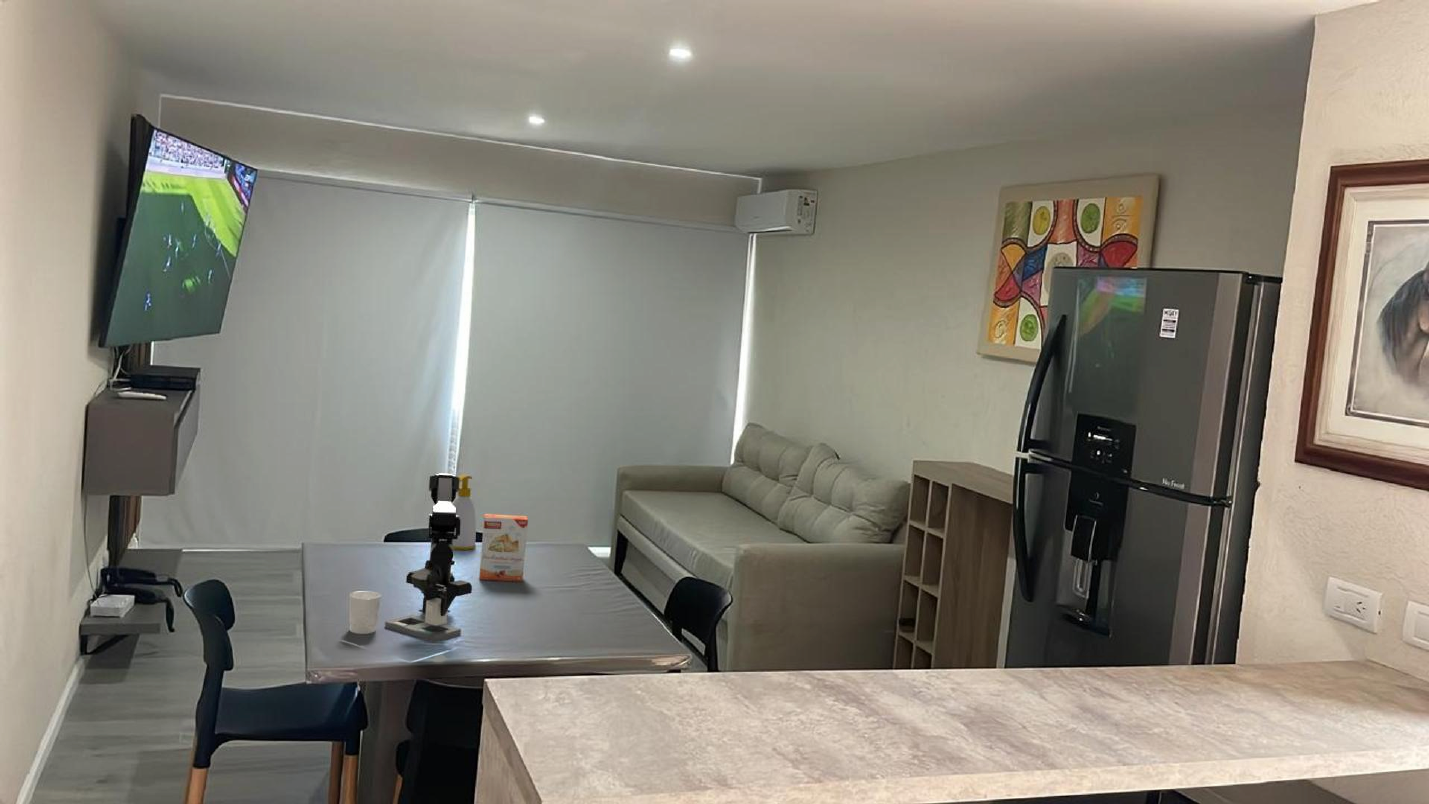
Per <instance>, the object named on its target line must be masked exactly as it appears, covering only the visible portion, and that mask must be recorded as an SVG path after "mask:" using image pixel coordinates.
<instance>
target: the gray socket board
mask: <svg viewBox="0 0 1429 804" xmlns="http://www.w3.org/2000/svg"><path fill="white" fill-rule="evenodd" d="M384 628H386V629H388V630H389V629H390V630H392V631H394V632H395V631H396V632H400V633H403V634H404V635H405V634H406V635H409V636H412V637H416V638H418V639H422V640H426V641H429V642H432V643H436V642H440V641H444V640H446V639H450V638H454V637H457V636H460V635H461V634H462V633H461V632H462V629H461V628H459V627H455V626H452V625H449V624H447V623H444V624H441V625H437V626H435V625H432V624H428V623H425V617H421V616H418V615H414V614H410V615H405V616H402V617H397V618H394V619H390V620H387V621H385V622H384Z"/></svg>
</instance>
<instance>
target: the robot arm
mask: <svg viewBox="0 0 1429 804" xmlns="http://www.w3.org/2000/svg"><path fill="white" fill-rule="evenodd" d="M428 479H429V482H428V492H430V498H431V500H432V502H433V503H434V505H433V506H432V509H431V511H432V512H431V513H429V515H428V528H427V529H428V531H427V539H431V540H430V549H429V551H430V552H429V559H428V560H426V561H425V562H424V563H425V564H424V567H423V568H421V569H417V570H412V571H409V572H408V573H407V574H406V581H405V582H406V584H409V585H412V586H413V588H416V589H418V590H419V591H420V592H421V594H423V599H422V608H421V609H419V610H418V611H419V612H420V613H424V614H426V601H427V600H431V599H435V598H439V599H441V610H440V611H441V616H444V615H445V614H446V612H447V613H450V612H451V610H450V609H449V608H450V607H451V605H452V603H453V601H454V600H455V599H456V598H457V597H460V596H461V597H462V596H465V595H469V594H472V593H473V591H472V590H473V585H472V583H471V582H469V581H465V580H461V579H460V580H459V579H458V580H456V581H455V579H456V578H455V576H454V573H453V572H452V566H454V565H455V563H456V560H453V559H454V549H453V540H452V539H458V536H460V524H461V520H460V519H459V515H456V507H454V506H453V502H454V500H455V498H456V497H457V493H458V492H459V487H460V483H461V482H460V478H459V476H456V475H455V474H453V473H445V472H439V473H437V474H434V475H430V476H429V478H428ZM455 528H456V534H455V535H454V533H453V532H455ZM448 532H452V533H448ZM447 610H448V611H447Z"/></svg>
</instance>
